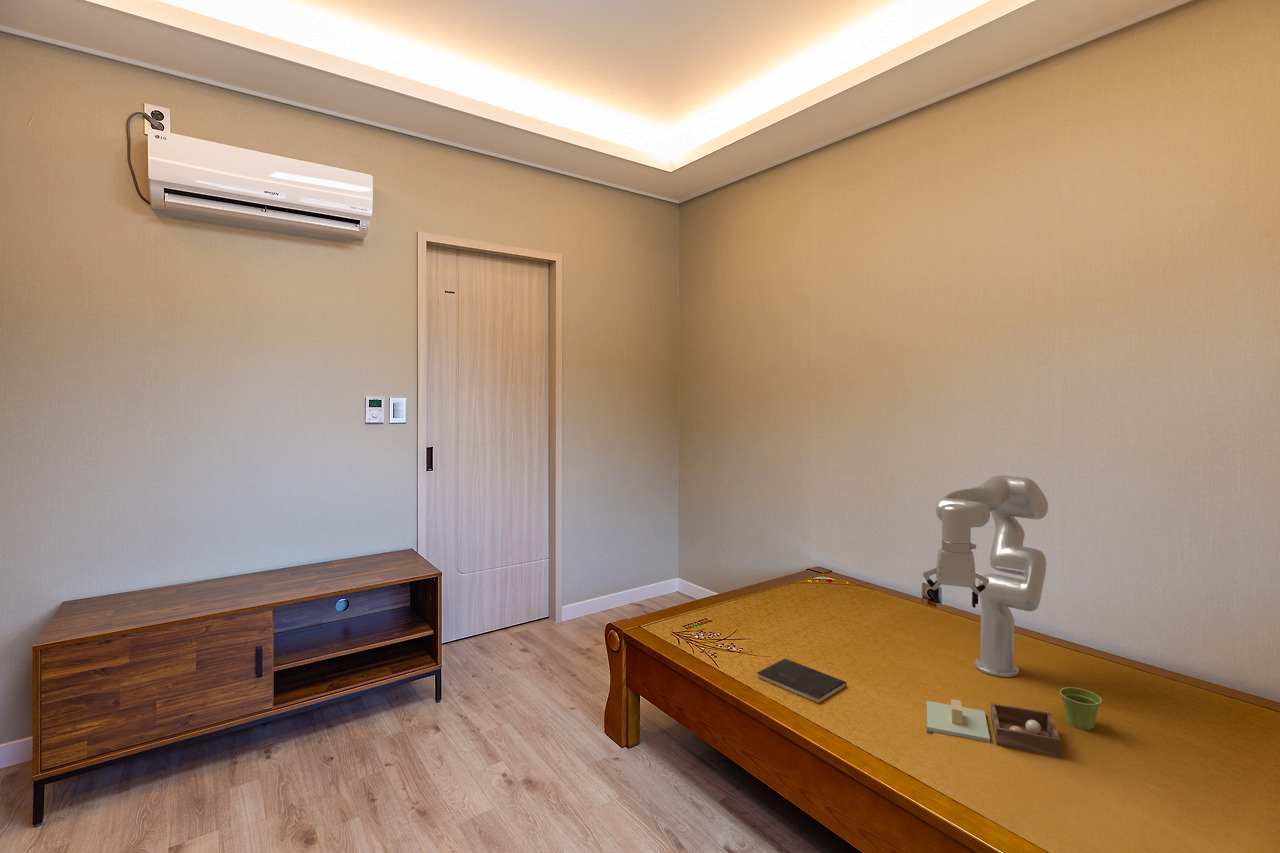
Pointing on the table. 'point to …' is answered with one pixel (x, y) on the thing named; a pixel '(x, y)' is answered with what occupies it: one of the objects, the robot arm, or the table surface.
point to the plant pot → (1080, 707)
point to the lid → (957, 720)
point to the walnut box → (1015, 716)
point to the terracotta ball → (1016, 728)
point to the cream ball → (1033, 727)
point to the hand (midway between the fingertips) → (955, 604)
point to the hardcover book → (802, 680)
